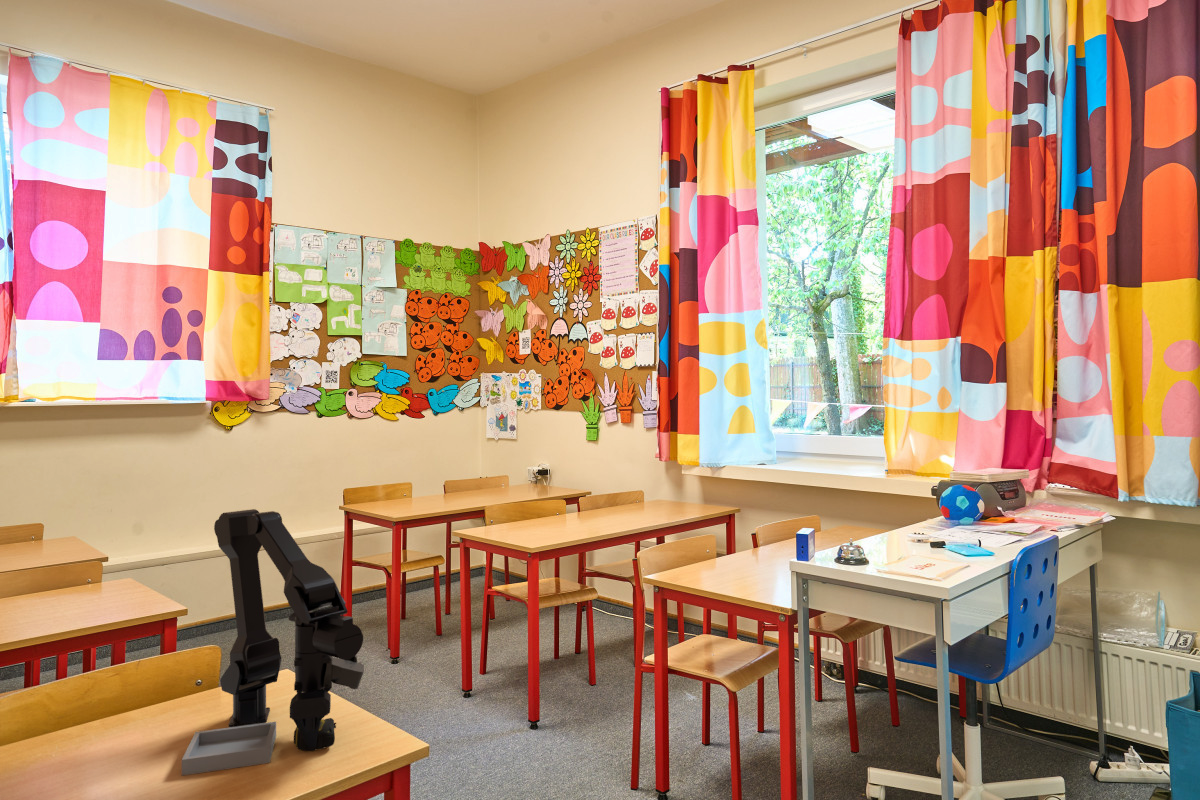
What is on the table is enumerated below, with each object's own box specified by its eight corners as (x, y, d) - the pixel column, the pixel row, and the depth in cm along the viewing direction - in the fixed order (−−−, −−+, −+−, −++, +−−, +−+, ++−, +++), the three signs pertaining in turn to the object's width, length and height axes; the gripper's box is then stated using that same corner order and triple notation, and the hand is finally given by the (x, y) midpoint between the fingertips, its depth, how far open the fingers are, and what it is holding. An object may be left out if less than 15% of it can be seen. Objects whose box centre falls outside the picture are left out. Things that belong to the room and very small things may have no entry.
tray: (195, 746, 130) (195, 731, 130) (276, 735, 134) (276, 721, 134) (181, 775, 119) (181, 759, 119) (269, 762, 123) (269, 747, 123)
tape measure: (334, 752, 127) (334, 730, 128) (291, 758, 125) (291, 735, 125) (336, 735, 134) (336, 714, 134) (295, 741, 132) (295, 719, 132)
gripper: (361, 660, 124) (362, 754, 123) (360, 629, 141) (360, 711, 141) (289, 668, 120) (289, 765, 120) (297, 635, 138) (297, 719, 138)
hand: (313, 738), depth 130 cm, fingers open, 8 cm apart
